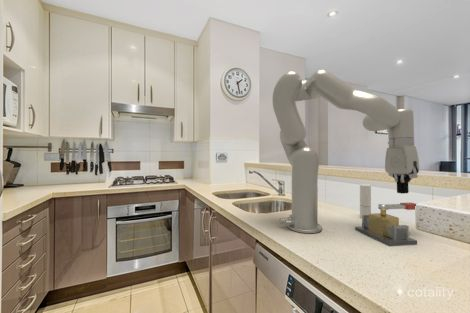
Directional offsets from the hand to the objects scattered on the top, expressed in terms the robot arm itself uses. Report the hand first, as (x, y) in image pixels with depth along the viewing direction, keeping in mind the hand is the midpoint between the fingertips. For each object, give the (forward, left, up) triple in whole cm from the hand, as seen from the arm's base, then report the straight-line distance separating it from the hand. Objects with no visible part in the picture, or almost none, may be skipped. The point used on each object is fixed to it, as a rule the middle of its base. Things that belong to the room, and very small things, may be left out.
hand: (402, 192), depth 79 cm
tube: (0, +19, -15) cm, 24 cm away
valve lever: (-6, -3, -5) cm, 8 cm away
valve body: (-11, -3, -14) cm, 18 cm away
